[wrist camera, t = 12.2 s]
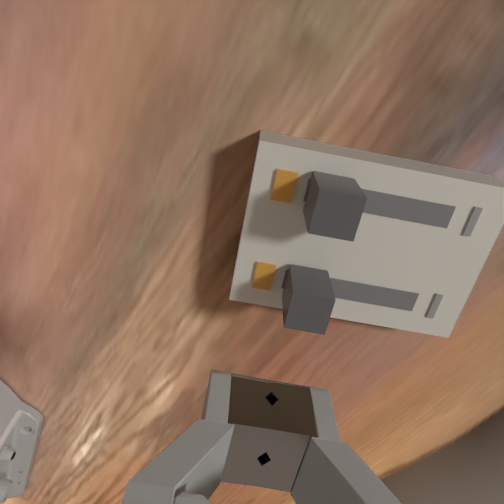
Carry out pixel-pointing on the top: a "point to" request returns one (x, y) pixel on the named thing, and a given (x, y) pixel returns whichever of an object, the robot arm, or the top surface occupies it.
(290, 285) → the far tab
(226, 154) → the top surface
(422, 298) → the switch housing
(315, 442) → the robot arm
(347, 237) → the near tab
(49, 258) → the top surface
